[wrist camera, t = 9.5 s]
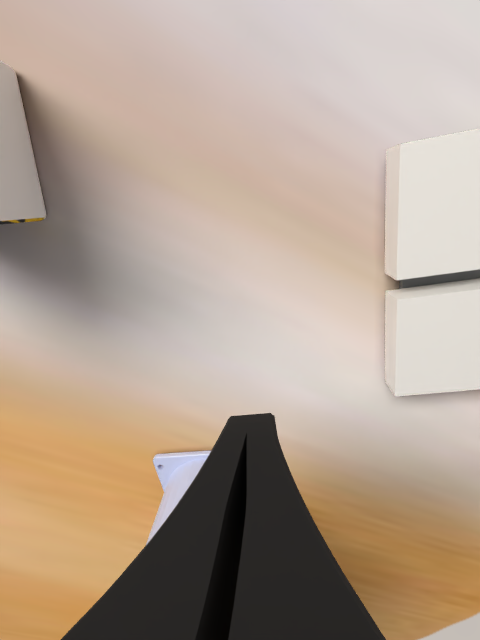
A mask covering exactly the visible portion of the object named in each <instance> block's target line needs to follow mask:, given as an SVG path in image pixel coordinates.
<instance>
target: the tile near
mask: <svg viewBox="0 0 480 640" xmlns="http://www.w3.org/2000/svg"><path fill="white" fill-rule="evenodd" d="M478 269H480V128H478V129H473V130H468V131H463V132H458V133H453V134H448V135H442V136H437V137H432V138H427V139H422V140H417V141H412V142H406V143H401V144H398V145H396V146H394V147H391V148H389V149H387V150H386V203H385V274H387V275H389V276H390V277H392V278H393V279H395V280H403V279H411V278H418V277H426V276H433V275H441V274H448V273H456V272H463V271H471V270H478Z"/></svg>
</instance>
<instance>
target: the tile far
mask: <svg viewBox="0 0 480 640" xmlns="http://www.w3.org/2000/svg"><path fill="white" fill-rule="evenodd" d="M385 382H386V384H387V385H388V387H389V388H390V390H391V391H392V393H393V394H394V396H395V397H396V396H408V395H420V394H431V393H443V392H455V391H467V390H478V389H480V278H477V279H470V280H462V281H455V282H447V283H440V284H432V285H425V286H417V287H410V288H402V289H395V290H387V291H385Z"/></svg>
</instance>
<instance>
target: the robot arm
mask: <svg viewBox="0 0 480 640" xmlns="http://www.w3.org/2000/svg"><path fill="white" fill-rule="evenodd" d="M153 463H154V466H155V468H156V471H157V474H158V477H159V479H160V482H161V485H162V487H163V490H164V495H163V498H162V501H161V504H160V506H159V509H158V512H157V515H156V518H155V521H154V524H153V526H152V529H151V532H150V535H149V538H148V541H147V543H146V546H145V547H144V549H143V550H142V551H141V552H140V553H139V554H138V556H137V557H136V558H135V559H134V560H133V562H132V563H131V564H130V565H129V566H128V568H127V569H126V570H125V571H124V572H123V573H122V575H121V576H120V577H119V578H118V579H117V580H116V581H115V583H114V584H113V585H112V586H111V587H110V588H109V589H108V590H107V591H106V593H105V594H104V595H103V596H102V597H101V598H100V599H99V600H98V601H97V602H96V603H95V604H94V605H93V606H92V607H91V609H90V610H89V611H88V612H87V613H86V614H85V615H84V616H83V617H82V618H81V619H80V620H79V621H78V622H77V623H76V624H75V625H74V626H73V627H72V628H71V629H70V630H69V631H68V633H67V634H66V635H65V636H64V637H63V638H62V639H61V640H386V639H385V637H384V636H383V634H382V633H381V632H380V630H379V628H378V627H377V625H376V624H375V622H374V621H373V619H372V617H371V616H370V614H369V613H368V611H367V610H366V608H365V606H364V605H363V603H362V602H361V600H360V598H359V597H358V595H357V594H356V592H355V591H354V589H353V587H352V586H351V584H350V583H349V581H348V580H347V578H346V576H345V575H344V573H343V572H342V570H341V568H340V566H339V565H338V563H337V561H336V560H335V558H334V556H333V555H332V553H331V551H330V549H329V548H328V546H327V544H326V542H325V541H324V539H323V537H322V535H321V533H320V532H319V530H318V528H317V526H316V524H315V522H314V520H313V519H312V517H311V515H310V513H309V511H308V509H307V507H306V505H305V503H304V501H303V499H302V497H301V495H300V492H299V490H298V488H297V486H296V484H295V482H294V479H293V477H292V475H291V472H290V470H289V467H288V465H287V462H286V460H285V458H284V455H283V452H282V449H281V446H280V443H279V440H278V436H277V430H276V424H275V417H274V415H272V414H271V413H266V414H253V415H241V416H231V417H230V418H229V419H228V421H227V423H226V425H225V427H224V429H223V431H222V433H221V434H220V436H219V438H218V440H217V442H216V444H215V445H214V447H213V449H212V451H196V452H181V453H165V454H157V455H155V457H154V459H153Z"/></svg>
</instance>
